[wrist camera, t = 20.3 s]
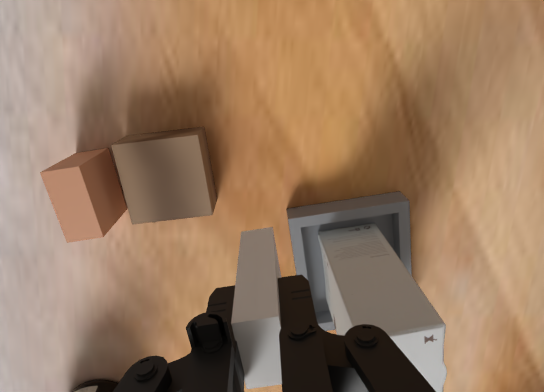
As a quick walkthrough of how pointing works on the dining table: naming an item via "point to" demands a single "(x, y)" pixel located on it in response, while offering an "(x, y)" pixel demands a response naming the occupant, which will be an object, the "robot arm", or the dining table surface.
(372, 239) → the skincare box
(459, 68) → the dining table surface
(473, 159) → the dining table surface
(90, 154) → the block
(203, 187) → the walnut block
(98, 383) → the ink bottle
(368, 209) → the tray
